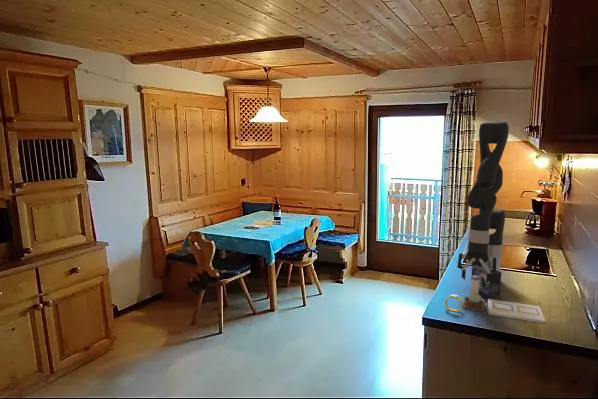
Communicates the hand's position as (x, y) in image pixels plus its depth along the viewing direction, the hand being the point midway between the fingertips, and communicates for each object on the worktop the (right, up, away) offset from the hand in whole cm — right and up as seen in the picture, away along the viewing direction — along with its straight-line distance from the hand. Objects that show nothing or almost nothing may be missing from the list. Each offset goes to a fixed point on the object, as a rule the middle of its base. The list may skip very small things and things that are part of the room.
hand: (475, 280), depth 169 cm
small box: (+7, -7, +8) cm, 13 cm away
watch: (-14, -9, -14) cm, 21 cm away
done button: (-4, -7, -9) cm, 12 cm away
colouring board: (+9, -9, -12) cm, 18 cm away
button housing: (-4, -8, -9) cm, 13 cm away
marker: (0, -7, +1) cm, 7 cm away
